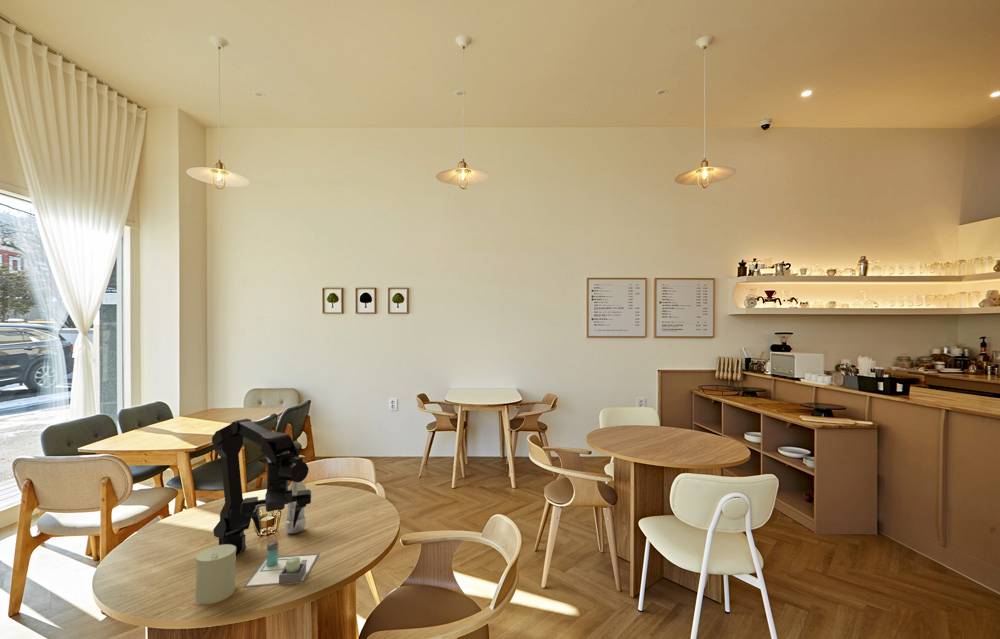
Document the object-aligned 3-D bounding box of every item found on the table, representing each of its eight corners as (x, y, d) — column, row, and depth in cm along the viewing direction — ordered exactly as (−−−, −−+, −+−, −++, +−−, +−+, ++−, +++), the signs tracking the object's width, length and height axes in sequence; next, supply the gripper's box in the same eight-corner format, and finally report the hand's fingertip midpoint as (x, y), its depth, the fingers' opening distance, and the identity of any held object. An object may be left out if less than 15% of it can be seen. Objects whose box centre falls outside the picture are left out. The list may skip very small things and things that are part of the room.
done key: (284, 575, 120) (284, 564, 120) (288, 568, 124) (288, 557, 124) (297, 573, 121) (297, 563, 121) (301, 567, 124) (301, 556, 124)
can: (190, 610, 108) (191, 562, 109) (199, 590, 117) (200, 546, 117) (232, 601, 112) (233, 554, 113) (238, 583, 121) (239, 539, 121)
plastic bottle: (280, 534, 151) (281, 476, 151) (296, 526, 157) (297, 471, 158) (294, 537, 148) (295, 479, 149) (309, 529, 154) (310, 473, 155)
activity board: (242, 589, 117) (243, 578, 118) (265, 559, 133) (265, 549, 133) (304, 584, 120) (304, 573, 120) (319, 555, 136) (319, 546, 136)
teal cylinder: (265, 567, 128) (265, 546, 128) (268, 562, 131) (269, 541, 131) (275, 566, 128) (276, 545, 128) (279, 561, 131) (279, 540, 131)
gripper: (237, 490, 118) (236, 548, 117) (310, 480, 126) (310, 535, 125) (243, 478, 128) (242, 531, 128) (311, 470, 136) (310, 520, 135)
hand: (277, 530), depth 129 cm, fingers open, 9 cm apart
